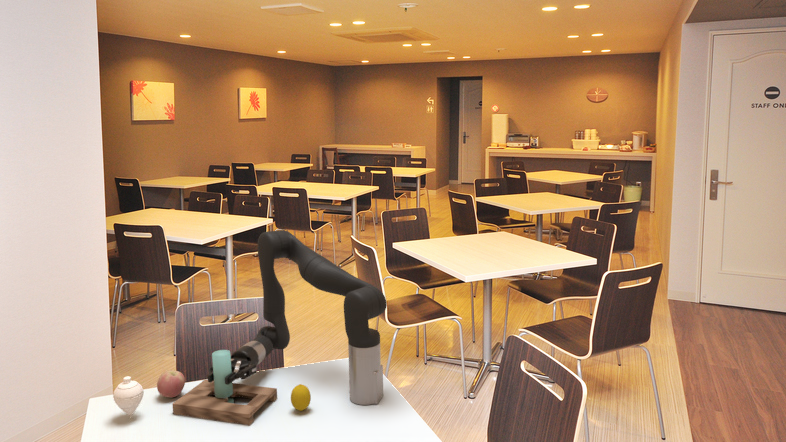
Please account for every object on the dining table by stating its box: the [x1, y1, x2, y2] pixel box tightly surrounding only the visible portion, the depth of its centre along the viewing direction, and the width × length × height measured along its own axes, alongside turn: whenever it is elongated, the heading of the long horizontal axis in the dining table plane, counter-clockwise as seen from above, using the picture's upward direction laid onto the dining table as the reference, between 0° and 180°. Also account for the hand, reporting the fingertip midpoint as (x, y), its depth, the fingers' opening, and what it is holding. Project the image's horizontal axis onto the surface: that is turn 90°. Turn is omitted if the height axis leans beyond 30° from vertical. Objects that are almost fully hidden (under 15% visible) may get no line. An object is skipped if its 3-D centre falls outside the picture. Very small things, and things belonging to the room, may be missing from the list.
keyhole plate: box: [172, 379, 278, 426], centre depth 171 cm, size 24×16×3 cm, turn 74°
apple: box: [156, 369, 186, 399], centre depth 176 cm, size 8×8×8 cm
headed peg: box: [211, 349, 235, 404], centre depth 170 cm, size 5×5×16 cm
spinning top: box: [112, 375, 145, 419], centre depth 164 cm, size 8×8×12 cm
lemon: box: [290, 383, 312, 412], centre depth 167 cm, size 6×6×8 cm
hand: (217, 380), depth 167 cm, fingers closed on headed peg, 5 cm apart
